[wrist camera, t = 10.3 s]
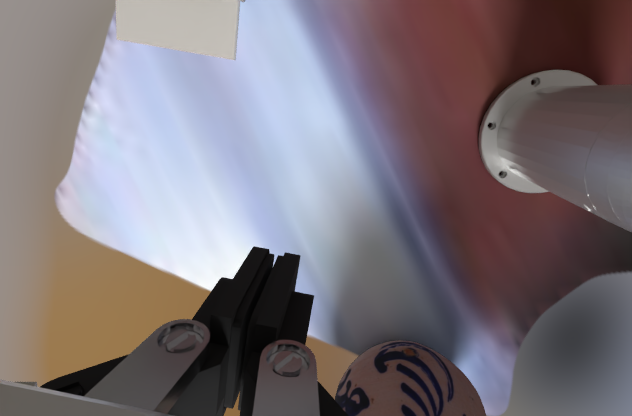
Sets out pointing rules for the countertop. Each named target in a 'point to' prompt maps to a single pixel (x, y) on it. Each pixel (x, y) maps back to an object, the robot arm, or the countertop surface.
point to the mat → (181, 25)
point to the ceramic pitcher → (406, 384)
